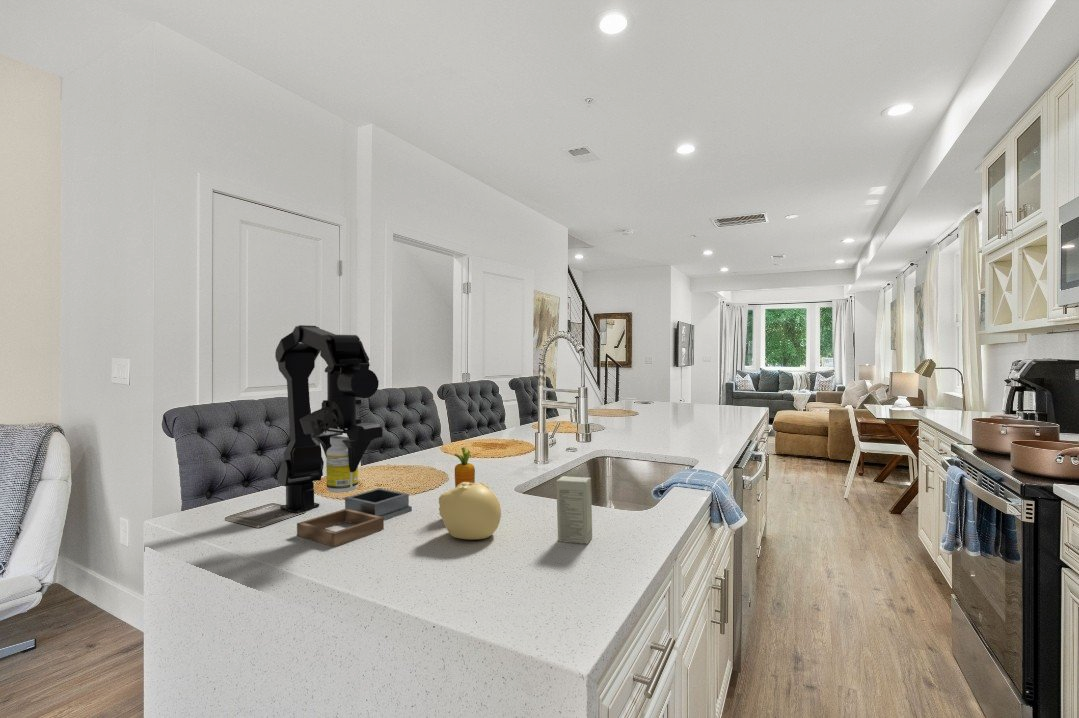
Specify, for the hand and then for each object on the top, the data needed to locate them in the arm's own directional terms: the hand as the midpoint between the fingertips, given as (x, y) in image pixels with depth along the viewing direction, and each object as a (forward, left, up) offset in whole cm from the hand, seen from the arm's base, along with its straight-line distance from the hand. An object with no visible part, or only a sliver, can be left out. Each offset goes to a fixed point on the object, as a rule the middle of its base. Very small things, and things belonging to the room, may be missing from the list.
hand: (342, 469), depth 111 cm
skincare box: (+43, +21, -13) cm, 50 cm away
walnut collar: (0, -1, -13) cm, 13 cm away
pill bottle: (0, 0, -4) cm, 4 cm away
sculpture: (+24, +12, -13) cm, 30 cm away
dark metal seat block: (-4, +12, -13) cm, 18 cm away
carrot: (+13, +23, -13) cm, 30 cm away
